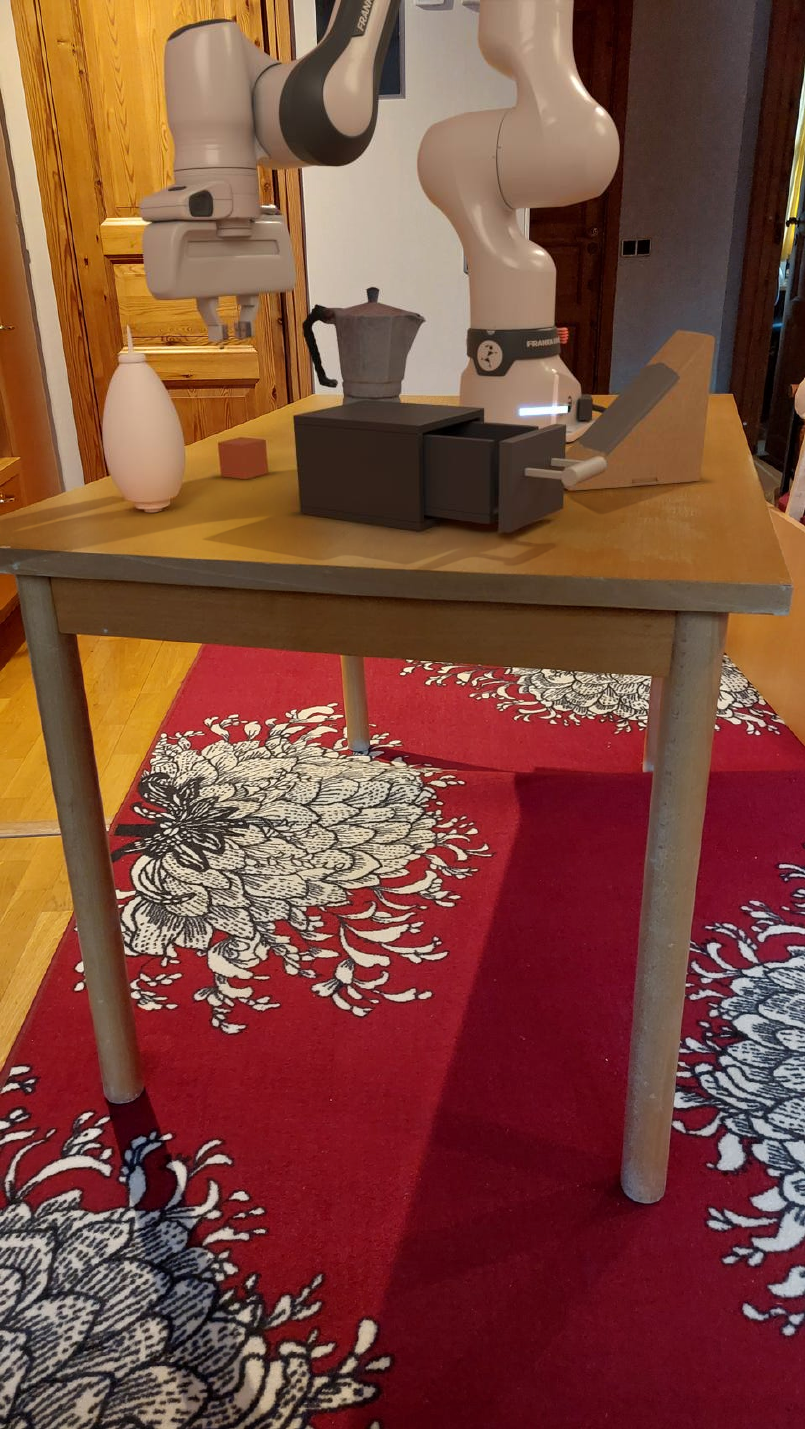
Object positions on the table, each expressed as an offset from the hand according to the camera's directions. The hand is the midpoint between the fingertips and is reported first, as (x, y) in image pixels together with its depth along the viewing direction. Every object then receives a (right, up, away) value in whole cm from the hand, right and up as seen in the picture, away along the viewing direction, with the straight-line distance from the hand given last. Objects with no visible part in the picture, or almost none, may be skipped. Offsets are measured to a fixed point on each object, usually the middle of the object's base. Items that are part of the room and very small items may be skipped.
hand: (232, 340), depth 111 cm
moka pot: (+15, -10, +13) cm, 22 cm away
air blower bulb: (-7, -21, -9) cm, 24 cm away
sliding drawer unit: (+28, -24, -19) cm, 41 cm away
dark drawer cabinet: (+18, -22, -12) cm, 31 cm away
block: (0, -14, +6) cm, 15 cm away
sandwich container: (+43, -16, -1) cm, 46 cm away
